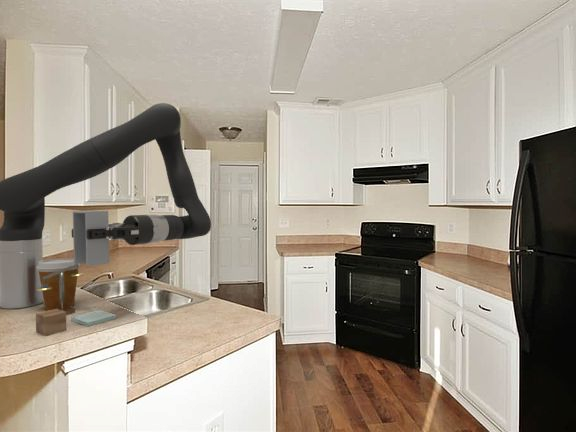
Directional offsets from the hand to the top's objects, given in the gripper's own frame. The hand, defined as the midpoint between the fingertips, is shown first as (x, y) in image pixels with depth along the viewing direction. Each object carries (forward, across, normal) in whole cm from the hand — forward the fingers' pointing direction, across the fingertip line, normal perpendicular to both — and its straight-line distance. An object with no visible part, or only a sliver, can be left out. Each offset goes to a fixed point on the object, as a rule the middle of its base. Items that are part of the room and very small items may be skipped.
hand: (79, 233), depth 79 cm
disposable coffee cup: (-4, -18, +20) cm, 27 cm away
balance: (-1, -11, +20) cm, 23 cm away
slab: (-3, 0, +20) cm, 20 cm away
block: (+6, 0, +20) cm, 21 cm away
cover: (-3, 0, +7) cm, 7 cm away
